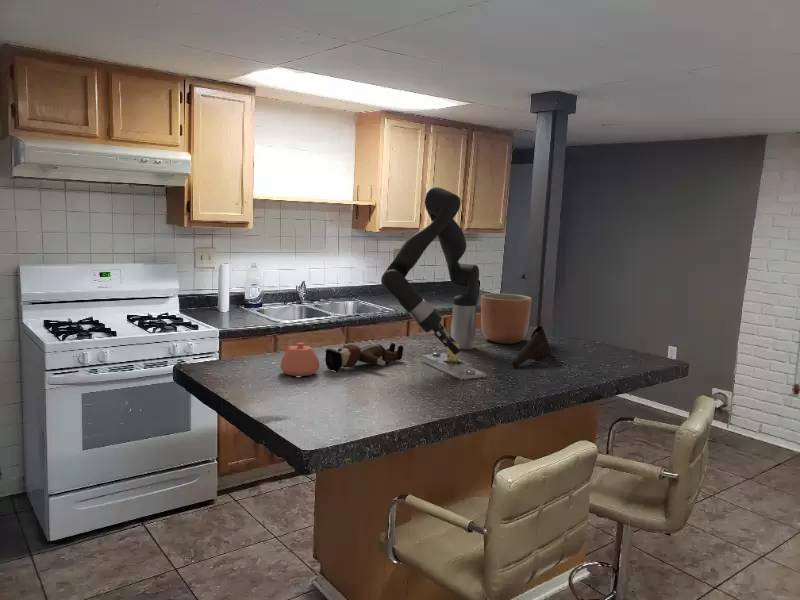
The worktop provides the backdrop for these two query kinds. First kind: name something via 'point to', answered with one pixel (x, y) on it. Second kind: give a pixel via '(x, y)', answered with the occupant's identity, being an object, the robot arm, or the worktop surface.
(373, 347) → the toy
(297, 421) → the worktop surface
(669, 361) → the worktop surface
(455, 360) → the pin
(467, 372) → the grey metal plate
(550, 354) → the holster
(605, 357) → the worktop surface
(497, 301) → the planter
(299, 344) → the sugar bowl
